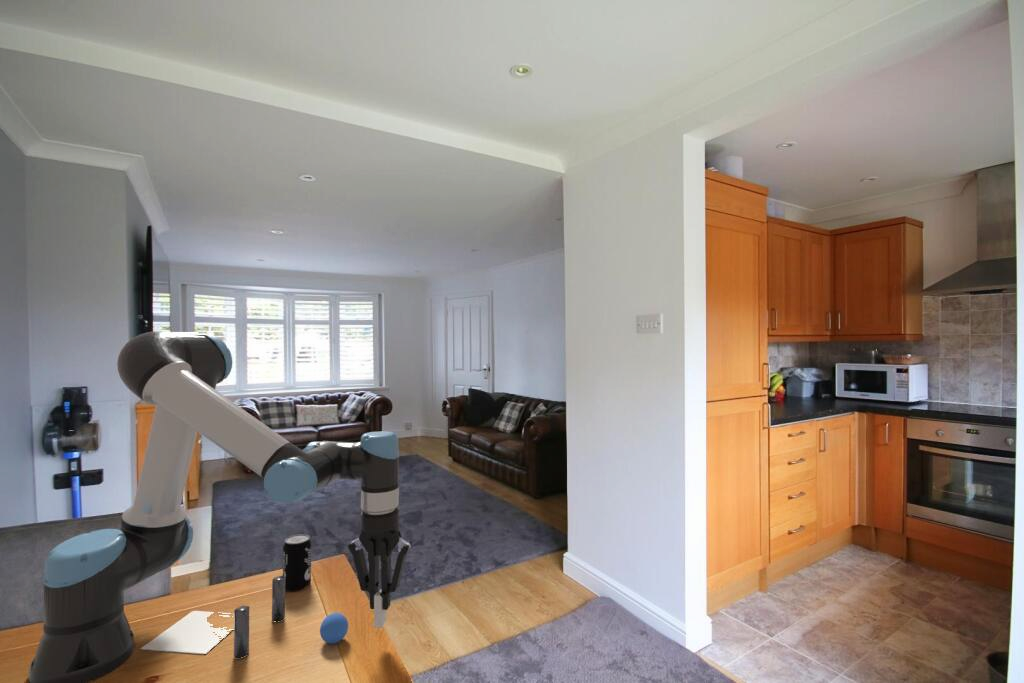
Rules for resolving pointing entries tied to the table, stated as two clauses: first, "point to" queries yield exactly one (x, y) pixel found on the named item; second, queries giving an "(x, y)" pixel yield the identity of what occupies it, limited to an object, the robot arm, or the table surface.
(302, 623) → the table surface
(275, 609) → the post
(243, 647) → the post
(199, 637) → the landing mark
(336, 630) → the ball
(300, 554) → the beverage can
